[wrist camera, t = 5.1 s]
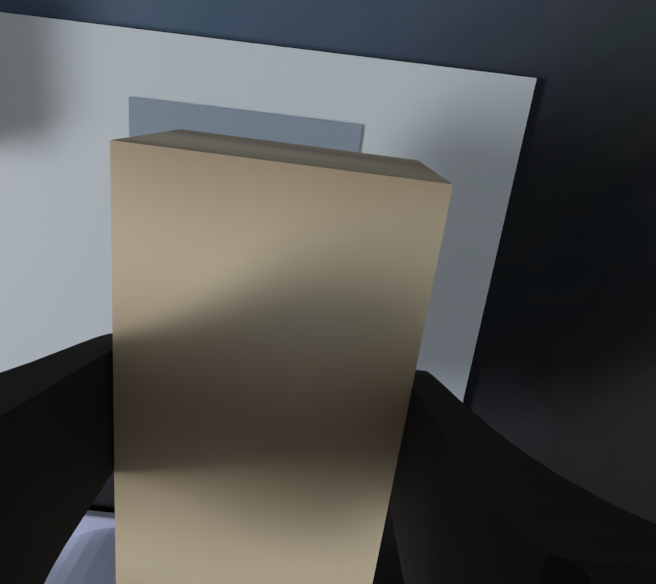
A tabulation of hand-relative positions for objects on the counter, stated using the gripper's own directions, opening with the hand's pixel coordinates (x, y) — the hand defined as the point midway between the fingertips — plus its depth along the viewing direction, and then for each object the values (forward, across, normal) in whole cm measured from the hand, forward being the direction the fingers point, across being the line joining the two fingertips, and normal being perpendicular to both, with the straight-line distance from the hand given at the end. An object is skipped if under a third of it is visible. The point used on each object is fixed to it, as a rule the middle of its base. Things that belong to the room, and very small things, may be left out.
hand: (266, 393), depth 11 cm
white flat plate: (+8, +2, 0) cm, 9 cm away
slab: (+3, 0, 0) cm, 3 cm away
